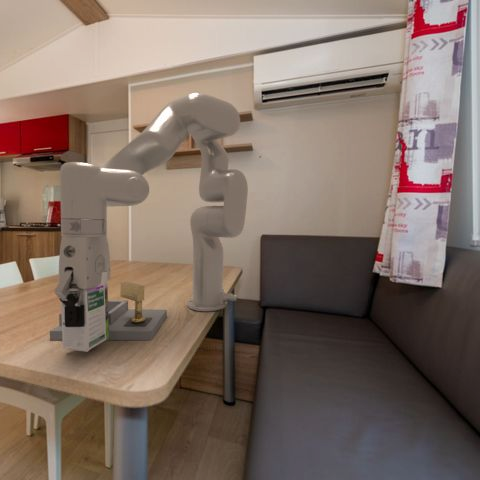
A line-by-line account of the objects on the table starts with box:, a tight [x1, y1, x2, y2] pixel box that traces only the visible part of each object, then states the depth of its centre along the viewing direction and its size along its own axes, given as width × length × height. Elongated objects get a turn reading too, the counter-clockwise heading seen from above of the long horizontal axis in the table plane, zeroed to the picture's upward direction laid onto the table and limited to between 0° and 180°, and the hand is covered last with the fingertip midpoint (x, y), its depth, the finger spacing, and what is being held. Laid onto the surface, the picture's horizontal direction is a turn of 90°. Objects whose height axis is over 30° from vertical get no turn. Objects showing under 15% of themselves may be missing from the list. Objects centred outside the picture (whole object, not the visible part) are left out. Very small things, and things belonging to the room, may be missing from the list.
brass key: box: [120, 281, 146, 323], centre depth 60 cm, size 3×8×8 cm, turn 57°
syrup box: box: [60, 271, 109, 353], centre depth 48 cm, size 6×6×14 cm
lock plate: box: [49, 299, 168, 341], centre depth 60 cm, size 22×14×4 cm, turn 93°
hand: (86, 318), depth 49 cm, fingers closed on syrup box, 6 cm apart
